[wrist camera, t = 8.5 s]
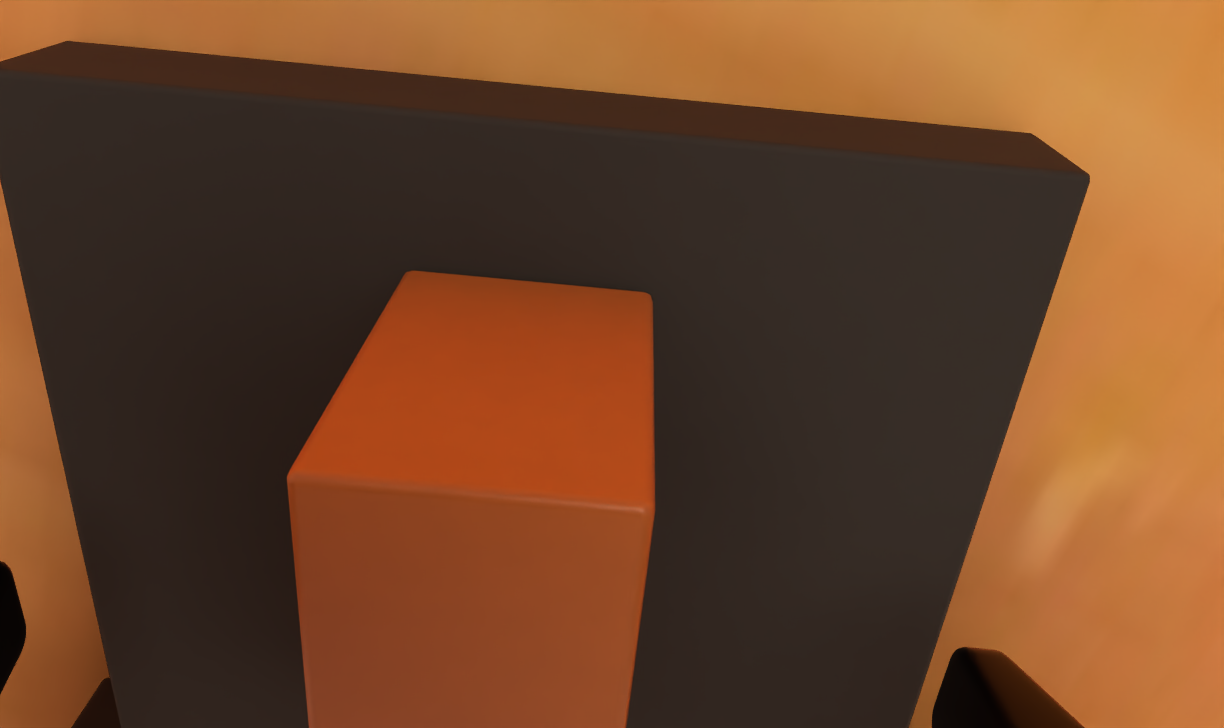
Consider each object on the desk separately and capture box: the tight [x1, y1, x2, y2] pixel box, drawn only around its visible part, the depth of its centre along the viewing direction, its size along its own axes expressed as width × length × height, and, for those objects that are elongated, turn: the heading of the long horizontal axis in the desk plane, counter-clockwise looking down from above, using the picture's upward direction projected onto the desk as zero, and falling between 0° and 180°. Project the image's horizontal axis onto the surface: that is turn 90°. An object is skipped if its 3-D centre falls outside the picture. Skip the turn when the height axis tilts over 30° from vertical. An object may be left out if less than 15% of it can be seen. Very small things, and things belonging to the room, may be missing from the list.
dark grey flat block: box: [0, 41, 1090, 728], centre depth 11 cm, size 10×13×5 cm
